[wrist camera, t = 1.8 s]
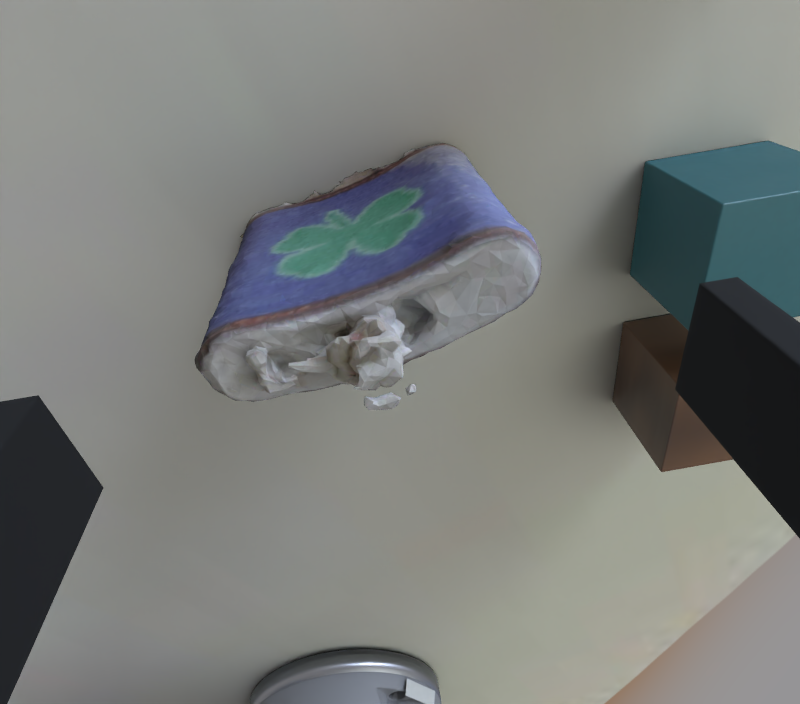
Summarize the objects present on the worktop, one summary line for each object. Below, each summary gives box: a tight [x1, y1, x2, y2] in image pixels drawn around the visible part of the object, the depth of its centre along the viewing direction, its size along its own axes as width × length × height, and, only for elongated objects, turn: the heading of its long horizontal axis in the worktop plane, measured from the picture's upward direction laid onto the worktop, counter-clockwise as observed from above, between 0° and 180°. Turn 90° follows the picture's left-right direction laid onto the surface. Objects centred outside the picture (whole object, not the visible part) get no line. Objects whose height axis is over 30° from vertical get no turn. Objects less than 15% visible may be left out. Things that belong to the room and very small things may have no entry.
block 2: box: [613, 314, 733, 472], centre depth 24 cm, size 5×5×5 cm
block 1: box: [630, 141, 800, 331], centre depth 20 cm, size 5×5×5 cm
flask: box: [195, 143, 541, 410], centre depth 16 cm, size 9×3×11 cm, turn 109°
